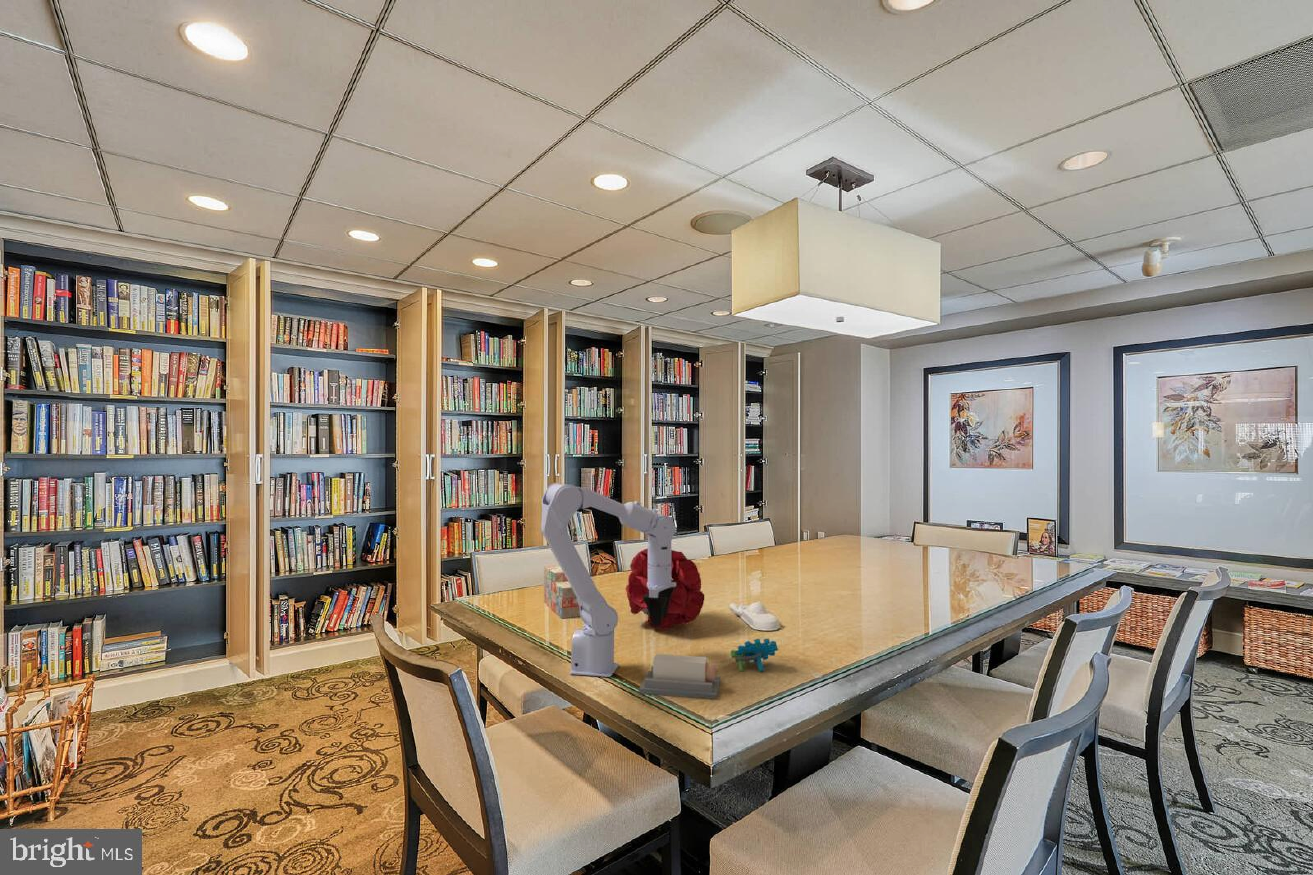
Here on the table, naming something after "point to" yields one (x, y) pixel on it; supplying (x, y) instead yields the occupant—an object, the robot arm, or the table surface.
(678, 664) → the cream rectangular bar
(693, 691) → the cradle
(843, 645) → the table surface
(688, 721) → the table surface
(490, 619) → the table surface
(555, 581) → the stack of blocks
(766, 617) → the white domed paddle shape
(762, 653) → the blue brick toy animal
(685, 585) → the bouquet
